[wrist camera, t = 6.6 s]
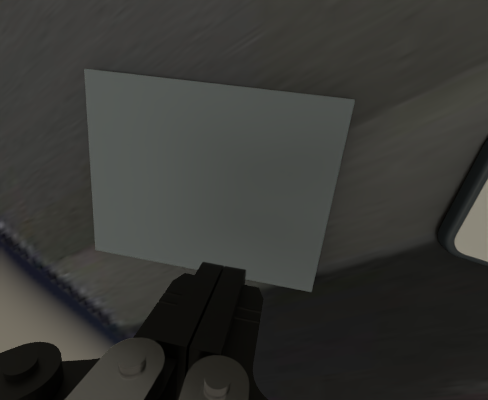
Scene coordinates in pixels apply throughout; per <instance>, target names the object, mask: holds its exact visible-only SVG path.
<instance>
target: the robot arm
mask: <svg viewBox="0 0 488 400" xmlns="http://www.w3.org/2000/svg"><path fill="white" fill-rule="evenodd" d="M245 278H246V270H245V269H240V268H234V267H229V266H225V267H224V266H223V265H218V264H213V263H208V262H202V264H201V265H200V267H199V269H198V270H197V272H196V274H195V275H191V274H186V273H184V274H183V275H181V276H180V277H178V278H177V279H175V280H173V281H172V283H171V284H170V286H169V287H168V289H167V290H166V292H165V293H164V294H163V296H162V297H161V299H160V300H159V303H157V304H156V306H155V307H154V309H153V310H152V312H151V313H150V314H149V316H148V317H147V319H146V320H145V322H144V323H143V324H142V326H141V327H140V329H139V330H138V332H137V333H136V335H135V336H134V337H133V338H130V339H127V340H124V341H121V342H119V343H117V344H116V345H114V346H113V347H111V348H110V349H109V350H108V351H107V352H106V353H105V354H104V355H103V356H102V357H101V358H98V359H92V360H78V361H62V358H61V353H60V351H59V349H58V348H57V347H56V346H55V345H53V344H50V343H46V342H34V343H28V344H24V345H21V346H18V347H15V348H13V349H10V350H7V351H5V352H2V353H0V400H268V399H267V398H266V397H265V396H264V395H263V394H262V393H261V392H260V390H259V389H258V387H257V385H256V383H255V381H254V377H253V361H254V355H255V349H256V342H257V336H258V330H259V323H260V317H261V311H262V304H263V297H262V295H261V292H260V290H259V288H257V287H252V286H247V285H245Z"/></svg>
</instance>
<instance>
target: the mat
mask: <svg viewBox="0 0 488 400" xmlns="http://www.w3.org/2000/svg"><path fill="white" fill-rule="evenodd" d="M84 74H85V90H86V105H87V121H88V137H89V153H90V169H91V185H92V201H93V217H94V232H95V248H96V250H98V251H104V252H109V253H114V254H119V255H124V256H129V257H134V258H139V259H144V260H150V261H155V262H160V263H165V264H170V265H175V266H180V267H185V268H190V269H196V270H198V269H199V267H200V265H201V264H202V262H208V263H213V264H218V265H223V266H224V267H225V266H229V267H234V268H240V269H245V270H246V278H245V279H247V280H252V281H257V282H262V283H267V284H272V285H277V286H282V287H288V288H293V289H298V290H303V291H308V292H312V288H313V283H314V279H315V275H316V270H317V266H318V261H319V257H320V253H321V248H322V244H323V239H324V235H325V231H326V226H327V222H328V217H329V213H330V208H331V204H332V200H333V195H334V191H335V186H336V182H337V178H338V173H339V169H340V164H341V160H342V156H343V151H344V147H345V142H346V138H347V134H348V129H349V125H350V120H351V116H352V112H353V107H354V103H355V100H354V99H345V98H337V97H328V96H319V95H310V94H302V93H293V92H284V91H275V90H266V89H258V88H249V87H240V86H231V85H223V84H214V83H205V82H196V81H188V80H179V79H170V78H161V77H152V76H144V75H135V74H126V73H117V72H109V71H100V70H91V69H84Z"/></svg>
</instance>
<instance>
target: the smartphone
mask: <svg viewBox="0 0 488 400" xmlns="http://www.w3.org/2000/svg"><path fill="white" fill-rule="evenodd" d="M438 240H439V242H440V244H441V245H442V246H443V247H444V248H445V249H446V250H447V251H448V252H449V253H451V254H452V255H454V256H457V257H460V258H463V259H466V260H469V261H473V262H476V263H479V264H482V265H485V266H488V139H487V140H486V142H485V144H484V146H483V148H482V150H481V151H480V153H479V155H478V157H477V159H476V161H475V163H474V165H473V166H472V168H471V170H470V172H469V174H468V176H467V178H466V180H465V181H464V183H463V185H462V187H461V189H460V191H459V193H458V195H457V196H456V198H455V200H454V202H453V204H452V206H451V208H450V210H449V211H448V213H447V215H446V217H445V219H444V221H443V223H442V225H441V226H440V228H439V231H438Z"/></svg>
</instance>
